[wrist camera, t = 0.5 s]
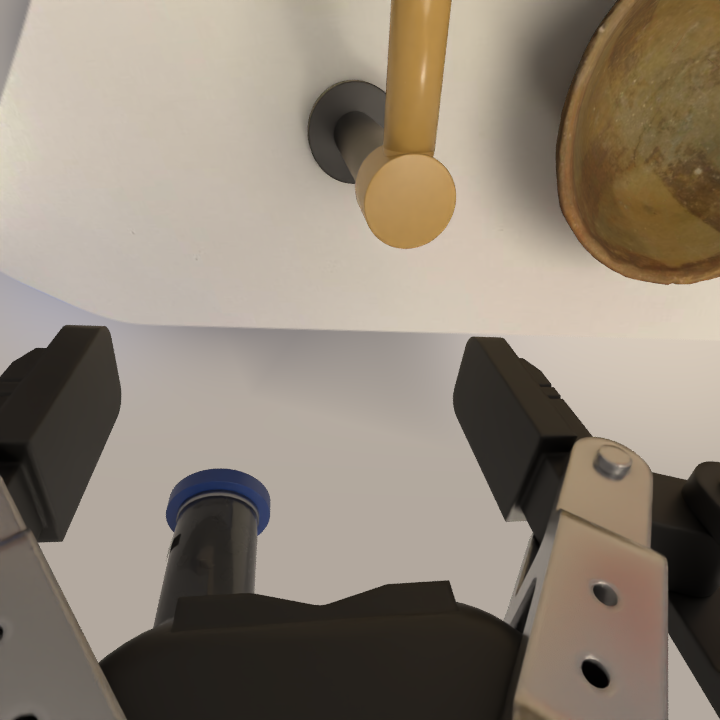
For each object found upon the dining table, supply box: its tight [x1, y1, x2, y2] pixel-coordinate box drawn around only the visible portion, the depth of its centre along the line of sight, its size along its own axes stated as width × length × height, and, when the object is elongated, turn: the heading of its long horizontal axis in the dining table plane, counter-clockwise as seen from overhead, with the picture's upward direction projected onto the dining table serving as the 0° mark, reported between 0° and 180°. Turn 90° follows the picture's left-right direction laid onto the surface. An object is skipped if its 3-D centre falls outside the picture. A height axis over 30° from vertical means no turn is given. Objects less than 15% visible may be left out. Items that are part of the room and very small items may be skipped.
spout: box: [355, 0, 456, 249], centre depth 19 cm, size 16×4×4 cm, turn 178°
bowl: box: [556, 0, 720, 285], centre depth 35 cm, size 22×23×10 cm
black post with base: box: [308, 80, 386, 184], centre depth 30 cm, size 7×7×16 cm
